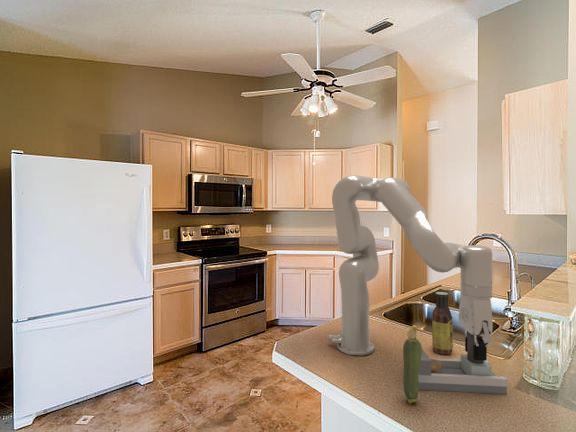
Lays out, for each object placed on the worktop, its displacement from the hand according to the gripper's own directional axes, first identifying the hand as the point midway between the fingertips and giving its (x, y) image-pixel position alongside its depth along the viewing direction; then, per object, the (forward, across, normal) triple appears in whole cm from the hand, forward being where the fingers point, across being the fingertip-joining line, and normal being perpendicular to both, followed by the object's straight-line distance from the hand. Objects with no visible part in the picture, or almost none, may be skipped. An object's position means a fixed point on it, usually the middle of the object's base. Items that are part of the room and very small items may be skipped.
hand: (475, 354), depth 88 cm
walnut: (+6, 0, -11) cm, 13 cm away
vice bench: (+8, 0, -6) cm, 10 cm away
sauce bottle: (+8, -19, -2) cm, 21 cm away
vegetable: (+8, +10, -20) cm, 24 cm away
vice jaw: (+5, 0, 0) cm, 5 cm away
